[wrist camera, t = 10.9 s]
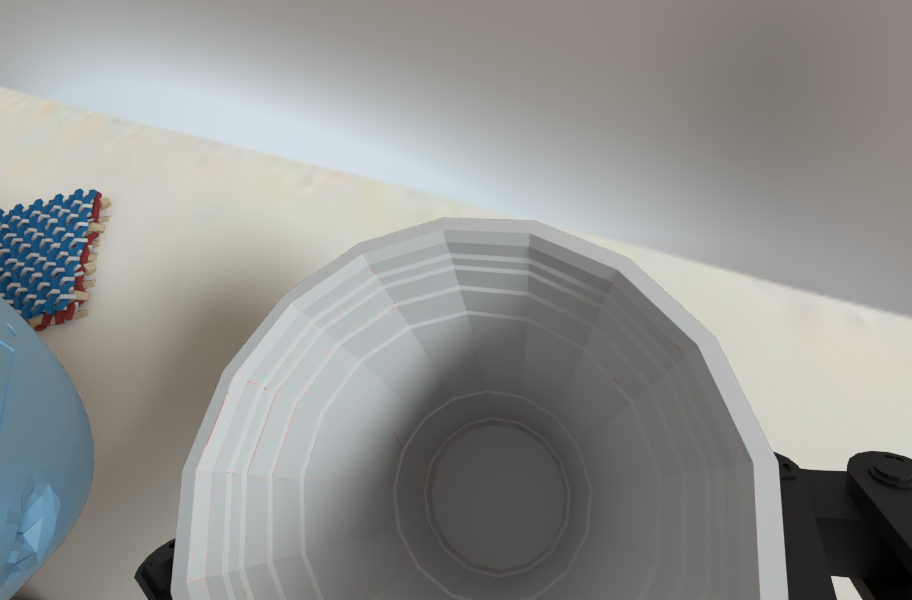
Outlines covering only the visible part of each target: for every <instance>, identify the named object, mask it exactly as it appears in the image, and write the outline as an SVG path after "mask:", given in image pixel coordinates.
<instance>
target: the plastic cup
mask: <svg viewBox="0 0 912 600" xmlns="http://www.w3.org/2000/svg"><path fill="white" fill-rule="evenodd" d="M171 595H172V599H173V600H788V587H787V573H786V560H785V546H784V532H783V519H782V505H781V491H780V478H779V464H778V461H777V459H776V457H775V455H774V453H773V451H772V449H771V447H770V445H769V443H768V441H767V439H766V437H765V435H764V432H763V430H762V428H761V426H760V424H759V422H758V420H757V418H756V416H755V414H754V412H753V410H752V408H751V406H750V404H749V402H748V400H747V398H746V396H745V394H744V392H743V390H742V388H741V386H740V384H739V382H738V380H737V378H736V376H735V374H734V372H733V370H732V368H731V366H730V364H729V362H728V360H727V358H726V356H725V354H724V352H723V350H722V348H721V346H720V344H719V342H718V340H717V338H716V337H715V336H714V335H713V334H712V333H711V332H710V331H709V330H708V329H707V328H705V327H704V326H703V325H702V324H701V323H700V322H699V321H698V320H697V319H696V318H694V317H693V316H692V315H691V314H690V313H689V312H688V311H687V310H686V309H685V308H684V307H682V306H681V305H680V304H679V303H678V302H677V301H676V300H675V299H674V298H673V297H671V296H670V295H669V294H668V293H667V292H666V291H665V290H664V289H663V288H662V287H660V286H659V285H658V284H657V283H656V282H655V281H654V280H653V279H652V278H651V277H650V276H648V275H647V274H646V273H645V272H644V271H643V270H642V269H641V268H640V267H639V266H637V265H636V264H635V263H634V262H633V261H632V260H631V259H630V258H628V257H625V256H623V255H620V254H618V253H615V252H613V251H610V250H608V249H605V248H603V247H600V246H598V245H595V244H593V243H590V242H588V241H585V240H583V239H580V238H578V237H575V236H573V235H570V234H568V233H565V232H563V231H560V230H558V229H555V228H553V227H550V226H548V225H545V224H543V223H540V222H538V221H535V220H506V219H475V218H445V217H443V218H440V219H437V220H433V221H430V222H427V223H423V224H420V225H417V226H414V227H410V228H407V229H404V230H401V231H397V232H394V233H391V234H387V235H384V236H381V237H378V238H374V239H371V240H368V241H364V242H361V243H358V244H357V245H355V246H354V247H352V248H351V249H350V250H348V251H347V252H345V253H344V254H342V255H341V256H339V257H338V258H336V259H335V260H334V261H332V262H331V263H329V264H328V265H326V266H325V267H323V268H322V269H321V270H319V271H318V272H316V273H315V274H313V275H312V276H310V277H309V278H308V279H306V280H305V281H303V282H302V283H300V284H299V285H297V286H296V287H295V288H293V289H292V290H290V291H289V292H287V293H286V294H284V295H283V297H282V298H281V299H280V300H279V302H278V303H277V304H276V305H275V307H274V308H273V309H272V310H271V312H270V313H269V314H268V315H267V317H266V318H265V319H264V320H263V322H262V323H261V324H260V325H259V327H258V328H257V329H256V330H255V332H254V333H253V334H252V335H251V337H250V338H249V339H248V340H247V342H246V343H245V344H244V345H243V347H242V348H241V349H240V350H239V352H238V353H237V354H236V355H235V357H234V358H233V359H232V360H231V362H230V363H229V364H228V365H227V367H226V368H225V369H224V370H223V372H222V375H221V377H220V380H219V382H218V385H217V387H216V390H215V392H214V394H213V397H212V399H211V402H210V404H209V407H208V409H207V411H206V414H205V416H204V419H203V421H202V424H201V426H200V429H199V431H198V433H197V436H196V438H195V441H194V443H193V446H192V448H191V450H190V453H189V455H188V458H187V460H186V463H185V465H184V468H183V470H182V479H181V489H180V500H179V510H178V520H177V530H176V541H175V551H174V561H173V571H172V582H171Z"/></svg>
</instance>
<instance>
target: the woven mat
mask: <svg viewBox="0 0 912 600" xmlns="http://www.w3.org/2000/svg"><path fill="white" fill-rule="evenodd" d="M83 192H84V191H83V190H82V189H78V190H76V191H75V193H74V195H69V199H68V200H65V202H64V203H63V201H62V199H63V197H64V196H63V195H62V194H58V195H56V196H55V198H54V200H49V204H48V205H46V206H45V207H42V204H43V201H42V200H41V199H38V200H36V201H35V202H34V205H29V209H28V210H27V211H25V212H22V209H23V208H24V207H23V206H22V205H21V204H18V205H16V206H15V207H14V210H10V211H9V214H8V215H6V216H5V217H3V216H2V215H3V213H4V211H3V210H2V209H0V296H1V297H2V298H3V299H4V300H5V301H6V302H8V303H9V304H10V305H11V306H12V307H13V308H14V309H15V310H16V311H17V312H18V313H19V314H20V315H21V316H22V317H23V319H24V320H25V321H26V322H27V323H28V324H29V325H30V326H31V327H32V329H36V331H40V330H43V329H44V328H46V326H47V325H53V324H63V323H64V322H65V321H70V320H74V319H78V318H81V317H84V316H87V315H88V312H89V310H83V311H78V309H79V305H80V304H82V303H83V302H84V300H88V298H89V293H88V292H85V290H84V289H86V288H89V287H93V286H95V281H96V280H89V281H83V277H84V276H87V275H91V274H93V273H94V272H95V271H96V267H95V265H94V264H93V262H91V261H95V260H97V256H98V253H91V252H92V251H93V248H95V247H98V246H100V242H101V240H95V241H92V240H93V239H95V238H96V237H98V236H99V233H103V231H104V226H105V225H102V224H99V223H103V222H106V221H109V218H110V216H104V217H98V216H99V211H101V210H105V209H106V208H108V207H109V206H111V203H110V201H109V199H108V198H101V196H102V194H101V193H100V192H97V191H96V190H89V194H88V195H87V196H85V197H84V198H83V196H82V194H83ZM89 216H90V219H88V217H89ZM73 245H74V246H73ZM87 262H90V263H87ZM55 274H56V275H55ZM47 298H48V299H47ZM55 309H56V312H55ZM65 310H66V312H65ZM53 313H55V315H53ZM64 313H65V314H64ZM32 315H33V316H32Z"/></svg>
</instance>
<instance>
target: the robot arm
mask: <svg viewBox="0 0 912 600" xmlns="http://www.w3.org/2000/svg"><path fill="white" fill-rule="evenodd" d="M773 453H774V455H775V457H776V459H777V461H778V464H779V478H780V491H781V505H782V519H783V532H784V546H785V560H786V573H787V587H788V600H837V598H836V594H835V590H834V587H833V583H832V579H831V576H839V577H848V578H850V580H851V582H852V583H853V585H854V586H855V588H856V590H857V591H858V593H859V595H860V596H861V598H862V599H863V600H912V459H910V458H908V457H905V456H901V455H897V454H893V453H889V452H878V451H868V452H862V453H857V454H856V455H854V456H852V457H851V458H850V459H849V462H848V465H847V471H823V470H808V469H800V468H799V467H798V465H796V464H795V463H794V462H793V461H791V460H790V459H789V458H787V457H785V456H782V455H780V454H778V453H775V452H773ZM93 469H94V444H93V437H92V432H91V428H90V424H89V421H88V417H87V413H86V410H85V408H84V405H83V403H82V400H81V398H80V396H79V394H78V392H77V390H76V388H75V386H74V385H73V383H72V381H71V379H70V377H69V376H68V374H67V373H66V371H65V370H64V368H63V366H62V365H61V364H60V362H59V361H58V360H57V358H56V357H55V356H54V354H53V353H52V352H51V350H50V349H49V348H48V346H47V345H46V344H45V343H44V342H43V341H42V340H41V339H40V337H39V336H38V334H37V333H36V332H35V331H34V330H33V329H32V327H31V326H30V325H29V324H28V323H27V322H26V321H25V320H24V319H23V317H22V316H21V315H20V314H19V313H18V312H17V311H16V310H15V309H14V308H13V307H12V306H11V305H10V304H9V303H8V302H6V301H5V300H4V299H3V298H2V297H1V296H0V600H26V599H22V598H18V597H12V596H13V595H14V594H15V593H16V592H17V591H18V590H19V589H20V588H21V587H22V586H23V585H24V584H25V583H26V582H27V581H28V580H29V579H30V578H31V577H32V576H33V575H34V574H35V572H36V571H37V570H38V569H39V568H40V567H41V566H42V565H43V564H44V563H45V562H46V561H47V560H48V559H49V557H50V556H51V555H52V554H53V553H54V552H55V551H56V549H57V548H58V547H59V546H60V545H61V543H62V542H63V541H64V539H65V538H66V537H67V535H68V534H69V532H70V531H71V529H72V527H73V526H74V524H75V523H76V521H77V519H78V517H79V515H80V513H81V511H82V509H83V507H84V504H85V502H86V499H87V496H88V493H89V490H90V486H91V482H92V477H93ZM175 541H176V539H173V540H171V541H169V542H167V543H166V544H164V545H162V546H161V547H159V548H158V549H156V550H155V551H154V552H153V553H152V554H151V555H149V556H148V557H147V558H146V559H145V561H144V562H143V563H142V564H141V565H140V567H139V568H138V570H137V572H136V575H135V577H134V578H135V579H136V581H137V582H138V584H139V586H140V587H141V589H142V590H143V592H144V593H145V595H146V597H147V598H148V600H173V599H172V595H171V582H172V571H173V561H174V551H175Z"/></svg>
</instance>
